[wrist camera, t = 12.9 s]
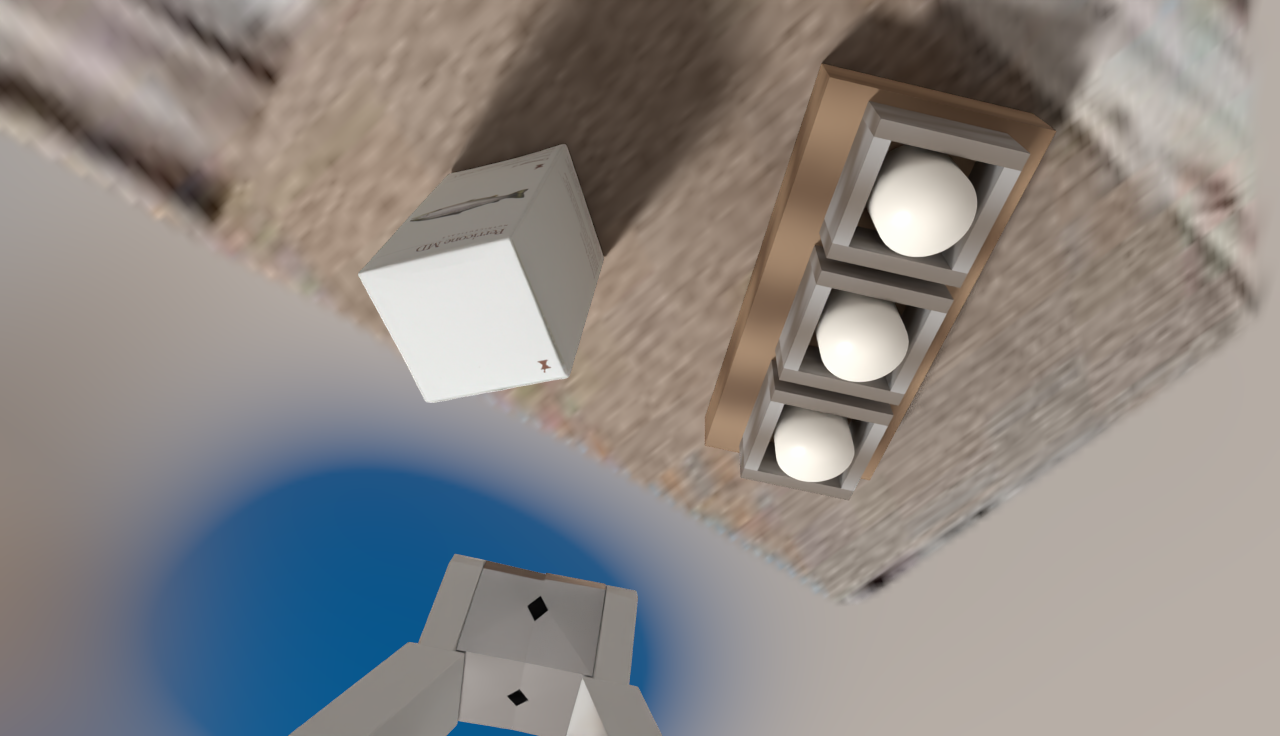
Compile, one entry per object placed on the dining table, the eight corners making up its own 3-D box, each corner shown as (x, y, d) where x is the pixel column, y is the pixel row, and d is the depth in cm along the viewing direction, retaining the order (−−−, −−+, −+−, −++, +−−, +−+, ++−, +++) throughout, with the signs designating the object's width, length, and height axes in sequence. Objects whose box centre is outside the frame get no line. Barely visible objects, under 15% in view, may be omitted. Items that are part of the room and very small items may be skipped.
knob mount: (821, 63, 36) (839, 93, 31) (1032, 113, 36) (1083, 151, 31) (705, 416, 49) (704, 477, 44) (861, 449, 49) (878, 513, 44)
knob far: (785, 383, 43) (790, 416, 40) (856, 398, 43) (866, 433, 40) (763, 438, 45) (766, 473, 42) (830, 452, 45) (838, 488, 43)
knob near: (884, 133, 34) (899, 155, 31) (973, 154, 34) (995, 177, 32) (850, 219, 37) (861, 245, 34) (933, 237, 37) (950, 265, 34)
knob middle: (829, 272, 38) (837, 301, 36) (908, 290, 38) (922, 320, 36) (802, 340, 41) (808, 372, 38) (876, 356, 41) (888, 389, 38)
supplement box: (568, 138, 39) (515, 234, 28) (606, 260, 43) (573, 384, 32) (444, 169, 40) (351, 271, 30) (492, 284, 44) (425, 409, 34)
